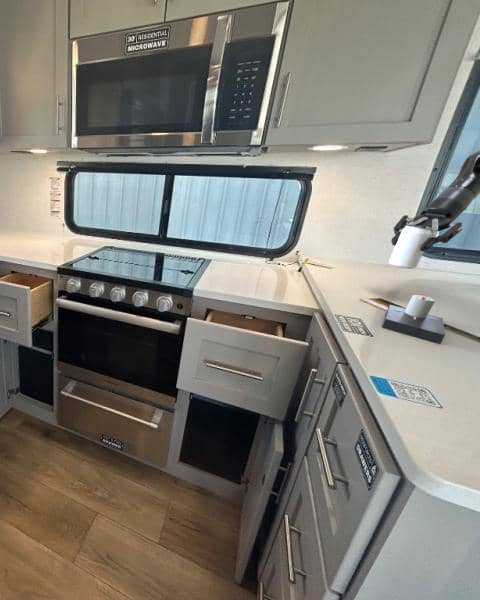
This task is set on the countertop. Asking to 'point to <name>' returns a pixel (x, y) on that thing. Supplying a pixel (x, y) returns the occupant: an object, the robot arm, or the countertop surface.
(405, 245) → the can
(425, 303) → the knob
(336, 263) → the countertop surface
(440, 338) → the block
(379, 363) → the countertop surface
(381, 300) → the cork mat
